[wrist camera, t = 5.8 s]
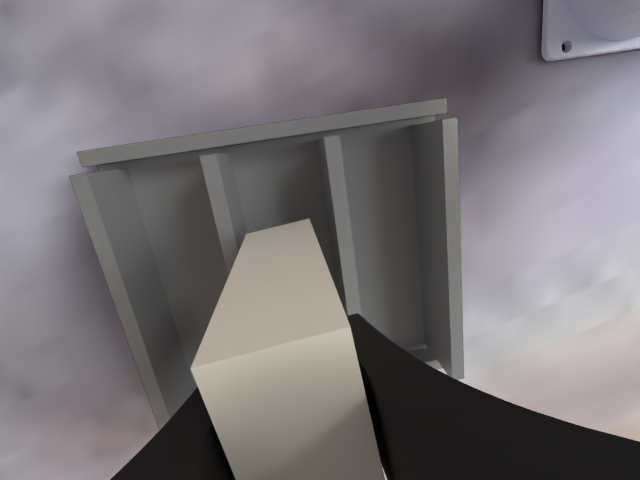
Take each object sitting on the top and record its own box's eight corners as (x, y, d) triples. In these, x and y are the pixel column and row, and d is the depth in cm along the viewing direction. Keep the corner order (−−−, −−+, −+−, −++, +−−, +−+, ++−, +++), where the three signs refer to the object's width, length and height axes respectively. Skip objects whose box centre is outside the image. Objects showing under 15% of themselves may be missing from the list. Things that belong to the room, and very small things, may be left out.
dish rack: (427, 101, 16) (472, 86, 12) (439, 346, 20) (476, 392, 16) (101, 149, 15) (40, 149, 11) (181, 396, 19) (155, 459, 15)
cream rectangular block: (309, 218, 13) (349, 326, 5) (340, 347, 14) (405, 574, 7) (246, 234, 13) (190, 368, 5) (285, 362, 14) (288, 609, 7)
